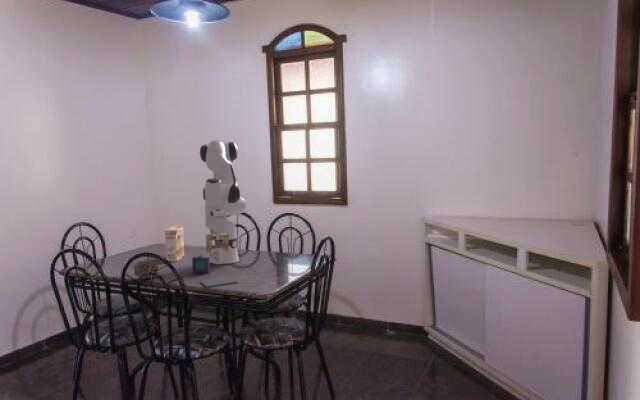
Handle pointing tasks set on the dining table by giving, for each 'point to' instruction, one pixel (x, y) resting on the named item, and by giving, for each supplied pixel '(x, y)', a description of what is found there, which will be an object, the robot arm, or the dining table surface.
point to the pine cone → (146, 268)
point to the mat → (218, 281)
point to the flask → (200, 264)
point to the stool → (224, 245)
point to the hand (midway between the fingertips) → (215, 238)
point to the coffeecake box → (174, 243)
